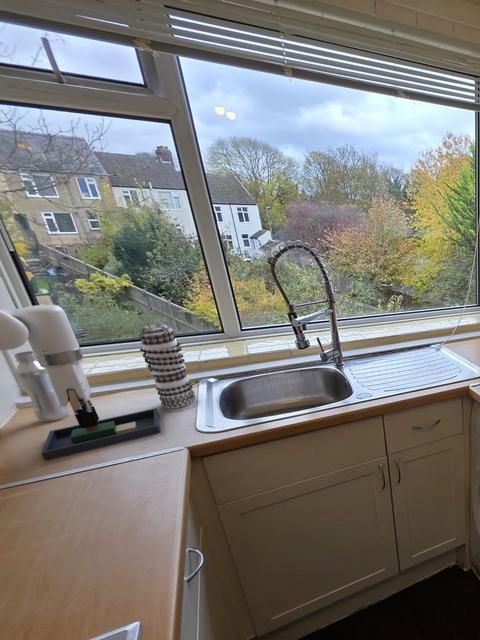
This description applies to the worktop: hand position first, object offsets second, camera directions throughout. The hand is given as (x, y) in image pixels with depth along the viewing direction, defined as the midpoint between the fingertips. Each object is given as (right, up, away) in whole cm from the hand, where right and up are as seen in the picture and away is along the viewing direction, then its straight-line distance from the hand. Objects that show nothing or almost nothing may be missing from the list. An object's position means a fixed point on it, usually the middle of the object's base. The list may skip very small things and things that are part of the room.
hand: (90, 423), depth 105 cm
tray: (+2, -4, +3) cm, 5 cm away
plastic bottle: (-22, 0, +11) cm, 25 cm away
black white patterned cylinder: (+6, +4, +21) cm, 22 cm away
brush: (0, -4, +2) cm, 4 cm away
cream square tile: (+5, -2, +5) cm, 7 cm away
